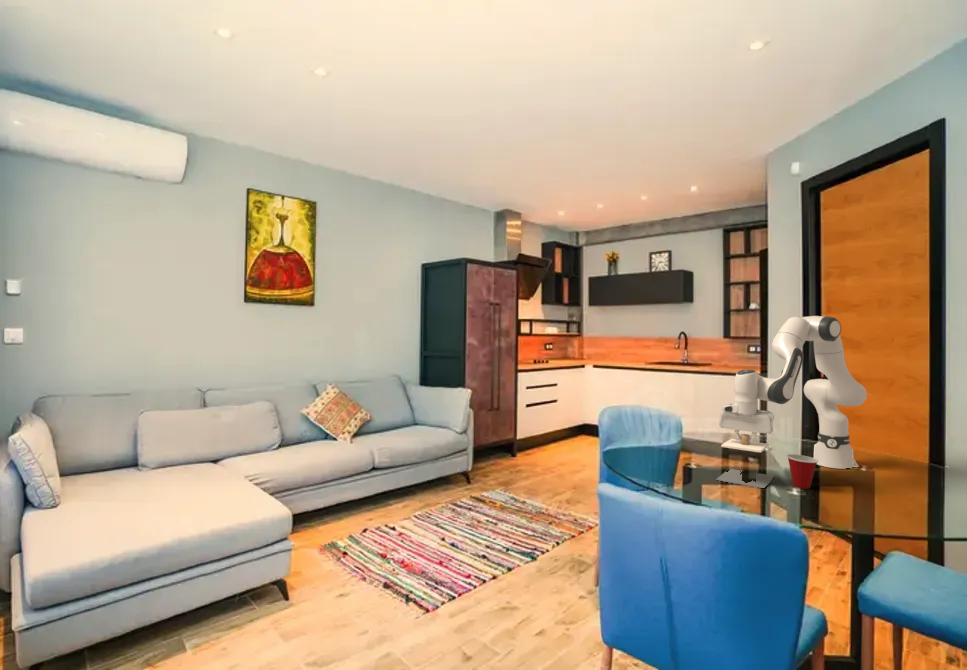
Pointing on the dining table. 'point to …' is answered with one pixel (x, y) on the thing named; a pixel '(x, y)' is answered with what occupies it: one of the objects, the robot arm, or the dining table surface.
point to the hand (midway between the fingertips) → (745, 441)
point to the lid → (745, 444)
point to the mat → (736, 478)
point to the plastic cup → (801, 470)
